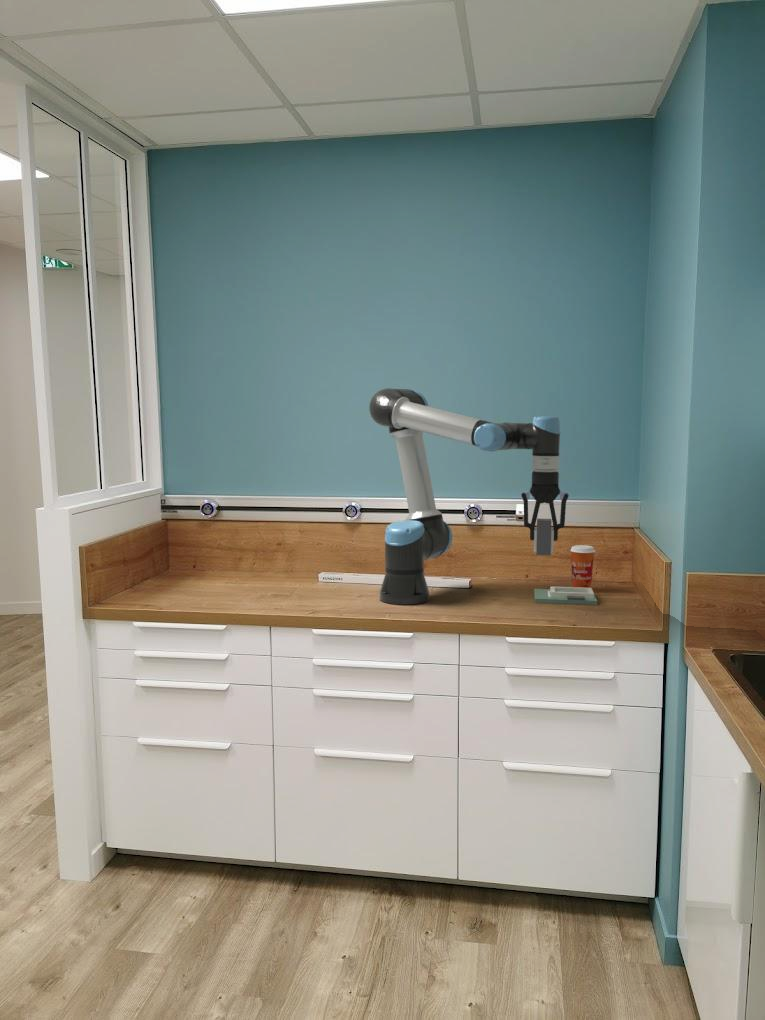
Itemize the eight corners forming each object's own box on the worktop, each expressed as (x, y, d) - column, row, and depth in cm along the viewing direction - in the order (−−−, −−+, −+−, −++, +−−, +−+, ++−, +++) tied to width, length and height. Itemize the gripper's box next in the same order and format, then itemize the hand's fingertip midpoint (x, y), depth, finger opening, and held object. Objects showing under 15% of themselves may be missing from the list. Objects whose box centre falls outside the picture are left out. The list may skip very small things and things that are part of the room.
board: (534, 602, 243) (535, 593, 243) (534, 592, 257) (534, 584, 257) (597, 604, 240) (597, 595, 240) (593, 594, 254) (593, 585, 254)
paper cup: (566, 591, 259) (567, 547, 257) (572, 586, 265) (573, 544, 264) (591, 593, 255) (592, 549, 253) (596, 589, 262) (598, 545, 260)
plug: (536, 554, 234) (537, 520, 232) (536, 552, 238) (537, 518, 237) (550, 555, 233) (551, 520, 232) (550, 552, 237) (551, 518, 236)
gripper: (514, 471, 230) (513, 553, 233) (576, 472, 227) (574, 554, 230) (515, 469, 237) (513, 548, 240) (575, 470, 235) (573, 550, 237)
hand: (543, 551), depth 235 cm, fingers closed on plug, 4 cm apart
